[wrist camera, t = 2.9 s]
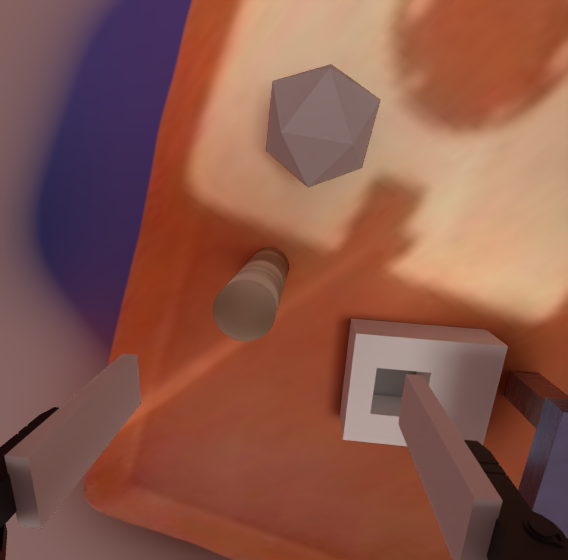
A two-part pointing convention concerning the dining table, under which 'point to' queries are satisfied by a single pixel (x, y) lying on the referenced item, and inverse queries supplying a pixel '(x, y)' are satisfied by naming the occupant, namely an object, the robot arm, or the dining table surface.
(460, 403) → the socket block
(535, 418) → the slate blue panel
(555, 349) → the dining table surface
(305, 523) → the dining table surface
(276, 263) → the peg
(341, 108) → the die
